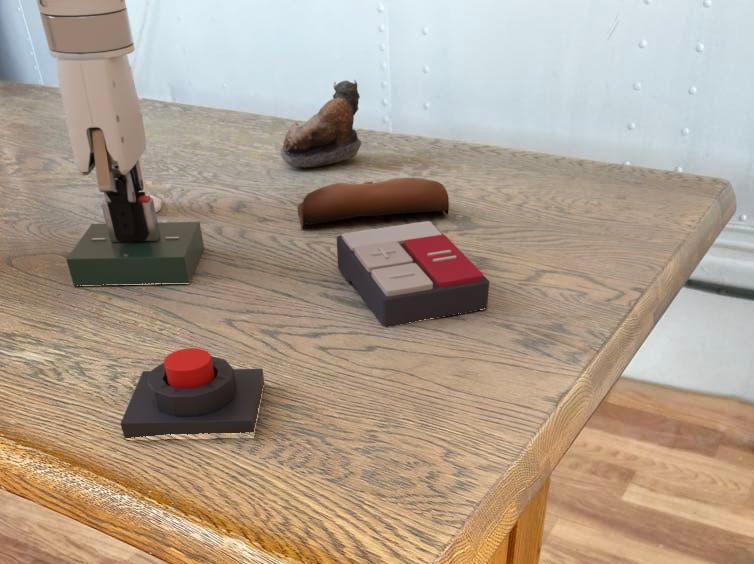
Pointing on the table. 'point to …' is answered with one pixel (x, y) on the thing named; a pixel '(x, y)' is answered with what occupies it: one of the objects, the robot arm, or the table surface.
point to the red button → (189, 368)
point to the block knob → (148, 216)
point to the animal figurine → (325, 132)
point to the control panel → (137, 256)
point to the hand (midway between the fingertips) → (134, 234)
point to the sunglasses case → (372, 200)
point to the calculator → (410, 273)
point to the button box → (194, 403)
